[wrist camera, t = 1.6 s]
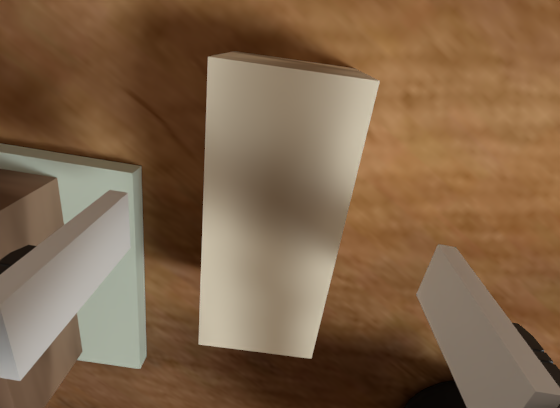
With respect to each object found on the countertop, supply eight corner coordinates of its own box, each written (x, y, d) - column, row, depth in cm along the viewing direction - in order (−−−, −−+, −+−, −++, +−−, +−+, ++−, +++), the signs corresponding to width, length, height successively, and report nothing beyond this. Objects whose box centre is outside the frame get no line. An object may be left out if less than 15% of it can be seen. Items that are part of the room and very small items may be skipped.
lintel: (221, 273, 23) (198, 344, 18) (235, 50, 17) (207, 56, 12) (307, 284, 23) (311, 358, 18) (353, 67, 17) (379, 81, 12)
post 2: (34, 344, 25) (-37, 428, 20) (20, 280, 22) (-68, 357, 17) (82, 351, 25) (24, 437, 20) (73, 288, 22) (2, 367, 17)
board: (-8, 333, 26) (-21, 345, 25) (-69, 132, 19) (-90, 137, 18) (146, 355, 27) (140, 368, 26) (141, 165, 20) (132, 173, 19)
